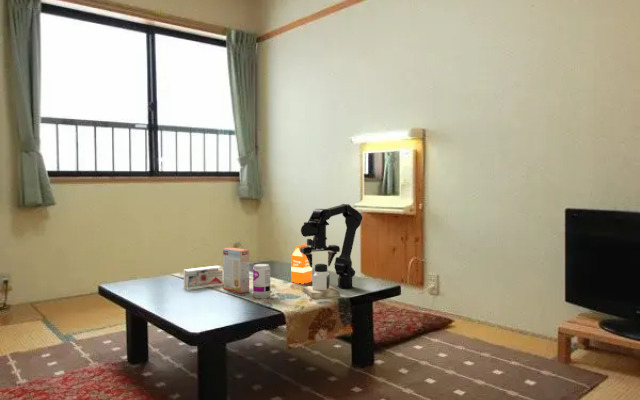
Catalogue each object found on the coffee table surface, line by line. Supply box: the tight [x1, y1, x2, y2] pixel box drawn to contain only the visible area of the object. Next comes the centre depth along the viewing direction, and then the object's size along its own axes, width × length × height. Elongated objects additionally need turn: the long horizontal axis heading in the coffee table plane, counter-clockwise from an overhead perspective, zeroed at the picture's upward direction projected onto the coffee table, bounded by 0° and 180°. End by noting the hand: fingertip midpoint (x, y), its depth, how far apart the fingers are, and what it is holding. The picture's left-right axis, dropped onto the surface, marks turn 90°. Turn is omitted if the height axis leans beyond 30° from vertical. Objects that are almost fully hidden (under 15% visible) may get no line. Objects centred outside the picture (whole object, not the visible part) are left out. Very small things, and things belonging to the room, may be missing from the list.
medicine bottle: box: [311, 263, 331, 291], centre depth 239 cm, size 7×7×12 cm
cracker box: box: [222, 246, 250, 294], centre depth 245 cm, size 14×6×21 cm, turn 47°
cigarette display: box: [183, 265, 223, 290], centre depth 256 cm, size 20×6×9 cm, turn 127°
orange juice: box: [290, 243, 313, 285], centre depth 266 cm, size 8×9×20 cm
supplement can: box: [252, 263, 271, 299], centre depth 234 cm, size 8×8×15 cm
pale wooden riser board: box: [301, 285, 341, 299], centre depth 239 cm, size 14×14×2 cm
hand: (320, 266), depth 239 cm, fingers open, 9 cm apart
